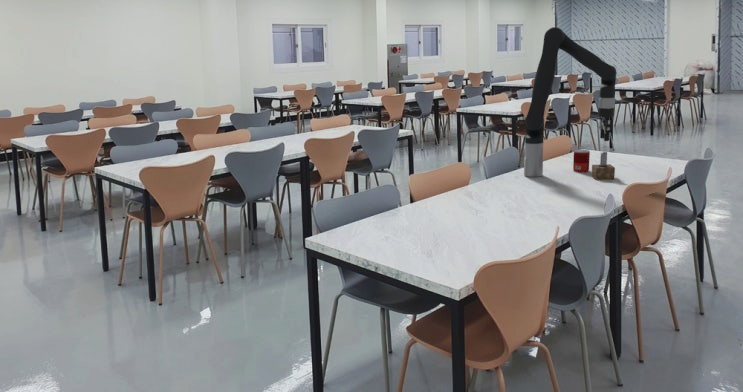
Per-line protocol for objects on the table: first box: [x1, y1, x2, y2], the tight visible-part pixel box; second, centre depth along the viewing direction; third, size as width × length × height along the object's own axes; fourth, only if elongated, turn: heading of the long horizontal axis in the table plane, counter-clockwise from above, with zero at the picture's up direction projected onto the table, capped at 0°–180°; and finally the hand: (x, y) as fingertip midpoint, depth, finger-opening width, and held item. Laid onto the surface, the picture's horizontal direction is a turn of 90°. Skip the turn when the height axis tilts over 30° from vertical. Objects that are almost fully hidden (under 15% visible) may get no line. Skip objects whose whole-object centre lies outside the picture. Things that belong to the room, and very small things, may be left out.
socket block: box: [591, 164, 616, 181], centre depth 325 cm, size 9×9×6 cm
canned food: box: [572, 149, 591, 173], centre depth 343 cm, size 8×8×11 cm
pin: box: [599, 151, 608, 167], centre depth 324 cm, size 3×3×12 cm
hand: (604, 139), depth 321 cm, fingers open, 8 cm apart
